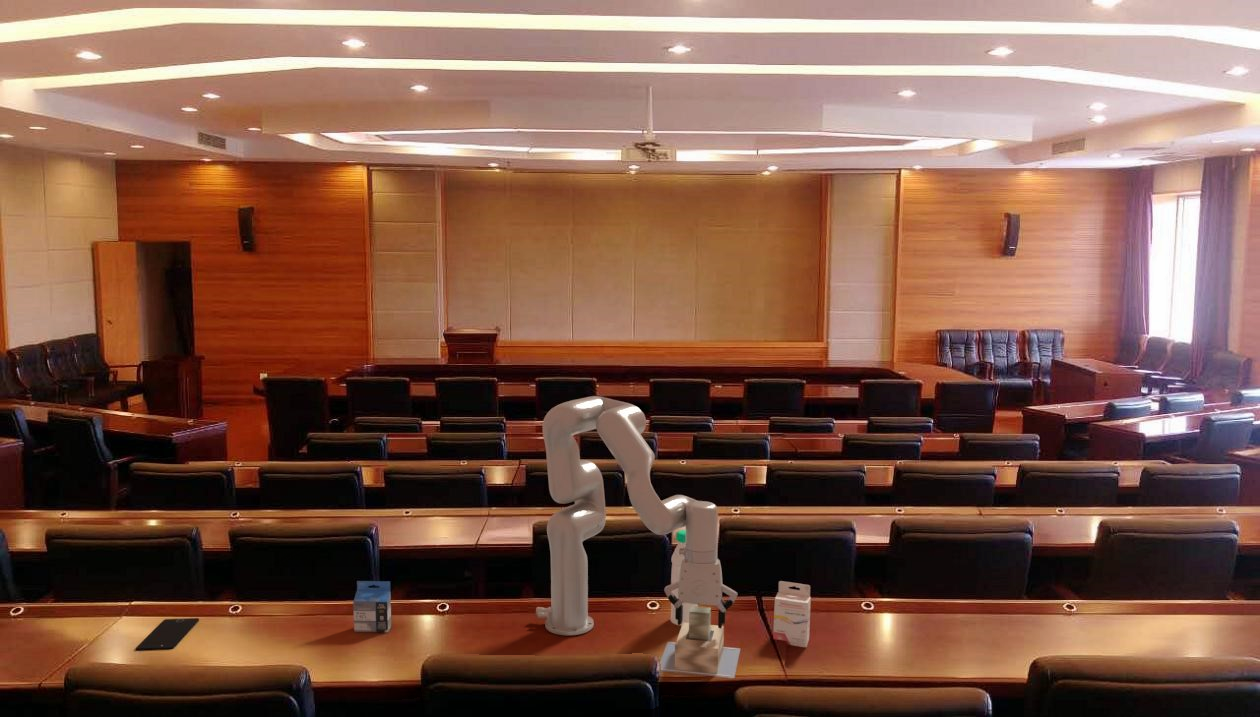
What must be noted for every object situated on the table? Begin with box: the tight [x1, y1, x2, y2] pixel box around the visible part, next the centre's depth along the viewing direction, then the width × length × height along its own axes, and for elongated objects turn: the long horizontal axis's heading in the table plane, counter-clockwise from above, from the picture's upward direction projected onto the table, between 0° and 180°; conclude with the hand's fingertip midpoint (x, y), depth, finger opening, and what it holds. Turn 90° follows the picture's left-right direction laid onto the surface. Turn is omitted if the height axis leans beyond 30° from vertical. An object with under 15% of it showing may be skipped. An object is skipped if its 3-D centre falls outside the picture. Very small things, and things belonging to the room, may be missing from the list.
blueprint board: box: [659, 641, 741, 679], centre depth 221 cm, size 18×16×1 cm
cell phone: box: [135, 617, 200, 652], centre depth 236 cm, size 9×18×1 cm, turn 6°
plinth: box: [675, 622, 725, 673], centre depth 221 cm, size 10×13×6 cm
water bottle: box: [670, 529, 699, 627], centre depth 242 cm, size 7×7×25 cm
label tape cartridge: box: [352, 580, 392, 633], centre depth 239 cm, size 9×4×12 cm, turn 90°
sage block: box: [689, 606, 712, 640], centre depth 220 cm, size 5×5×6 cm
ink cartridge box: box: [772, 580, 812, 648], centre depth 233 cm, size 9×5×15 cm, turn 71°
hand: (700, 624), depth 220 cm, fingers open, 9 cm apart
